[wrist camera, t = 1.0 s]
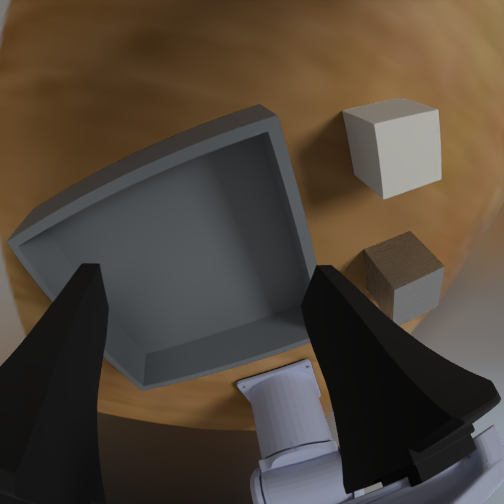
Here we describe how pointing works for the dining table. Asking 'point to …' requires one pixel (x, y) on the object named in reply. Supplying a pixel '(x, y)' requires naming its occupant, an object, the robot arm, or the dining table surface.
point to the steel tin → (403, 277)
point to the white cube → (394, 145)
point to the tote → (185, 249)
